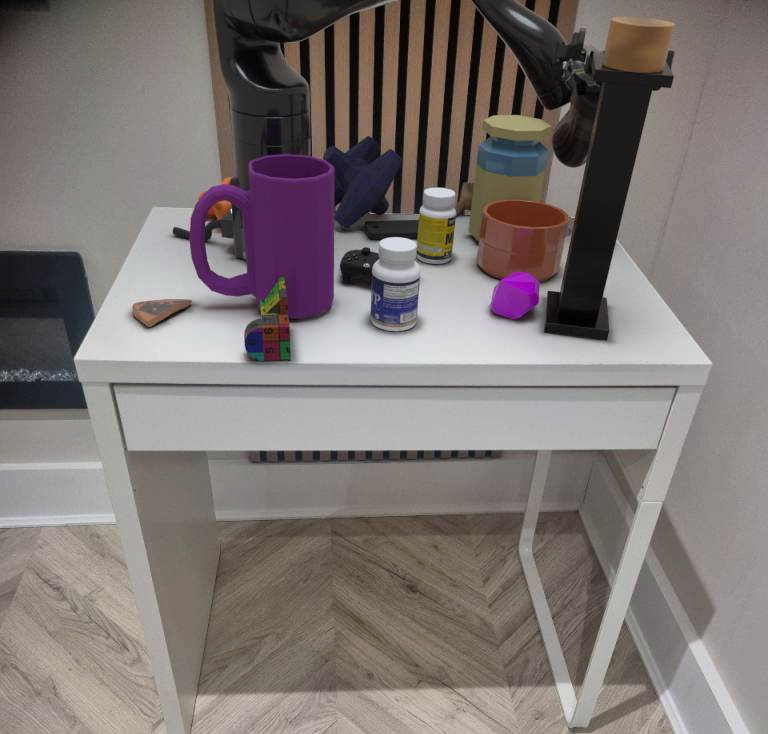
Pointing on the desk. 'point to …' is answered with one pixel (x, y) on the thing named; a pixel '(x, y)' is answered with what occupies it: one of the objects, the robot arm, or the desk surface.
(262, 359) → the puzzle-patterned holder
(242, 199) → the mug
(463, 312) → the desk surface
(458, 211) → the brown paper bag
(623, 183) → the shelf stand
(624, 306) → the desk surface
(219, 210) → the orange fox figurine
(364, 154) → the tetrapod
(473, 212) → the jar
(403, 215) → the desk surface
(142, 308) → the pottery shard
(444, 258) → the supplement bottle
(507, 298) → the crystal
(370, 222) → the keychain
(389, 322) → the pill bottle
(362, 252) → the game controller
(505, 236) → the bowl
